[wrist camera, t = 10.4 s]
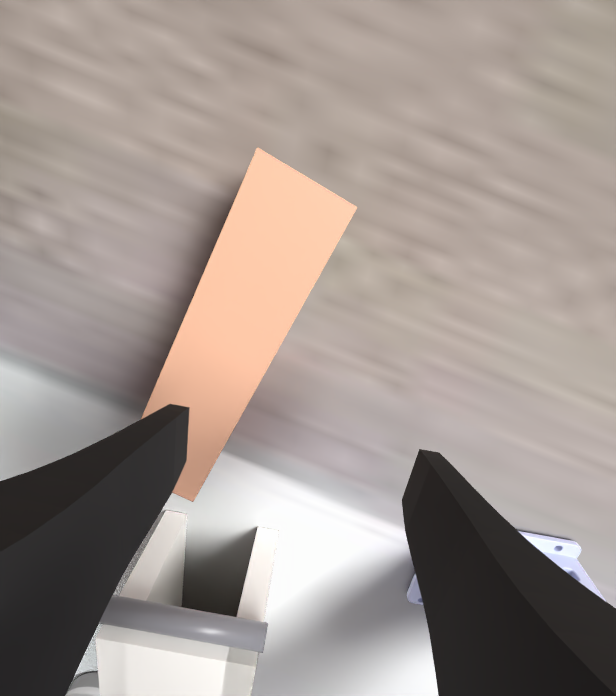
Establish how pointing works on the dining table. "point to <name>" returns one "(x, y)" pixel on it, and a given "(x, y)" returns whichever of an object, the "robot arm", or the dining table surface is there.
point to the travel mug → (85, 685)
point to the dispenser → (182, 625)
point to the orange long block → (246, 304)
